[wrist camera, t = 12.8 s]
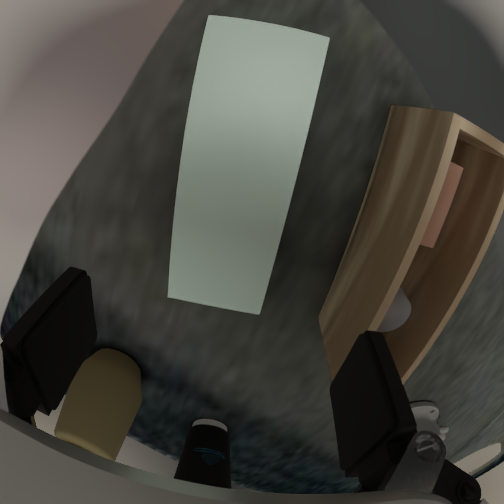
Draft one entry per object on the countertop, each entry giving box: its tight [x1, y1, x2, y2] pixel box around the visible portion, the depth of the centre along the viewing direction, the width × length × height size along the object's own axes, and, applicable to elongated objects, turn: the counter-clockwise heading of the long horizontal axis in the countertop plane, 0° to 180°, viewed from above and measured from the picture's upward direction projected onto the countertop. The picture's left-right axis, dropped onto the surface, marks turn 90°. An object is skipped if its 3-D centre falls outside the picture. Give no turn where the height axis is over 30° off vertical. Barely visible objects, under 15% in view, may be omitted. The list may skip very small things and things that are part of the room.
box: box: [318, 105, 504, 384], centre depth 19 cm, size 6×19×8 cm, turn 168°
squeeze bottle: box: [54, 348, 142, 461], centre depth 23 cm, size 8×8×18 cm
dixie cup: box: [174, 419, 231, 489], centre depth 31 cm, size 8×8×11 cm
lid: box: [168, 15, 330, 315], centre depth 19 cm, size 7×20×2 cm, turn 169°
